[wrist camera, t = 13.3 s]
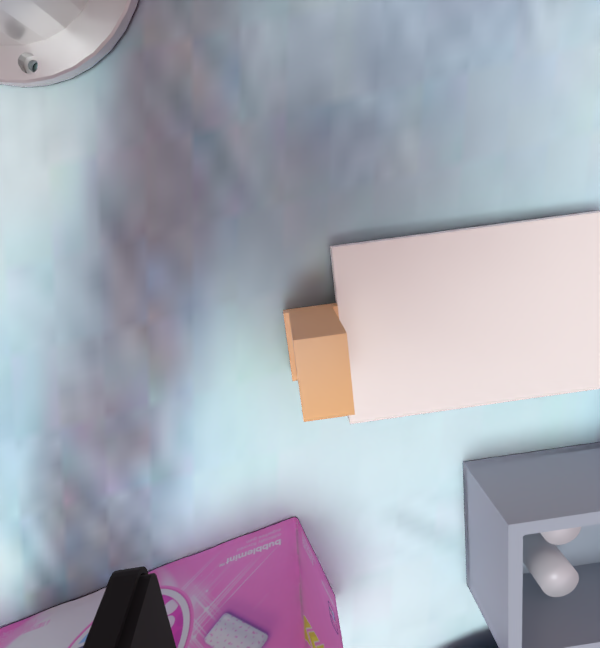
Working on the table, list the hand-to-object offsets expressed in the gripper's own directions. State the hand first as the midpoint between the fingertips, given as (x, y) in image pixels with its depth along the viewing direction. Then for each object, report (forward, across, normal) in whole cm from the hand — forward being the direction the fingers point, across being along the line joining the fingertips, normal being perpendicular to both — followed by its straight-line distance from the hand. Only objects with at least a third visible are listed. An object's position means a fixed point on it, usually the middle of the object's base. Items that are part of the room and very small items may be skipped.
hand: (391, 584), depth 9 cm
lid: (+18, -8, +1) cm, 20 cm away
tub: (+18, -16, +16) cm, 29 cm away
